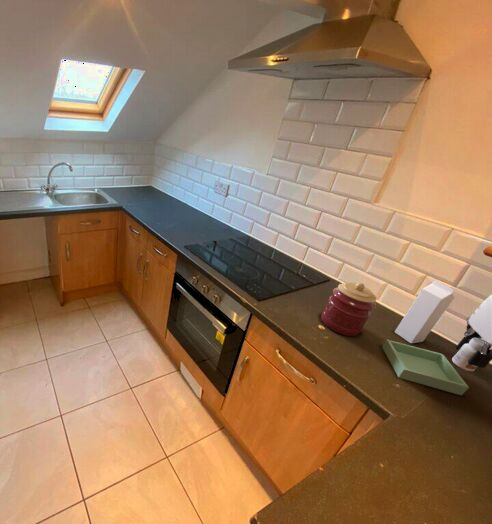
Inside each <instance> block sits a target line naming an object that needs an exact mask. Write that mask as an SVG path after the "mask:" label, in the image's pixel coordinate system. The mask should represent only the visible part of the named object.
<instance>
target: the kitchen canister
mask: <svg viewBox="0 0 492 524" xmlns="http://www.w3.org/2000/svg"><path fill="white" fill-rule="evenodd" d="M376 302H377V296H376V294H374V293H373V292H372V290H371V289H369V288H368V287H366V285H365V284H364V283H362V282H357V283H355V282H343V283H339V284H338V286H337V287H335V288H333V290H332V295H330V296H329V298H328V300H327V303H326V305H325V307H324V309H323V310H322V312H321V316H320V319H321V321H322V322H323V324H324V325H325V326H326V327H328V328H329V329H331V330H332V331H333V332H336V333H338V334H341V335H344V336H348V337H349V336H350V337H355V336H359V335H360V333H361V332H362V331H363V330H364V326H365V325H366V323H367V322H368V320H369V318H371V316H372V311H373V310H375V309H376V307H377V304H376Z"/></svg>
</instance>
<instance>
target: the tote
mask: <svg viewBox="0 0 492 524" xmlns="http://www.w3.org/2000/svg"><path fill="white" fill-rule="evenodd" d="M381 348H382V350H383V352H384V354H385V355H386V358H387V359H388V361H389V363H390V365H391V367H392V368H393V370H394V372H395V374H396V375H397V377H398V378H399V379H401V380H405V381H409V382H414V383H416V384H420V385H424V386H426V387H431V388H433V389H438V390H442V391H443V392H448V393H452V394H455V395H459V396H463V395H464V394H465V392H466V391H467V390H468V389H469V388H470V386H469V385H468V384H467V383H466V381H464V379H463V378H462V376H461V375H460V374H459V372H458V371H457V370H456V368H455V367H454V366H453V365H452V364H451V362H450V361H449V360H448V359H447V358H446V356H445V355H444V354H443V353H440V352H437V351H433V350H429V349H425V348H421V347H418V346H414V345H410V344H406V343H403V342H398V341H394V340H390V339H386V340H385V342H384V343H383V345H382V346H381Z"/></svg>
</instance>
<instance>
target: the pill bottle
mask: <svg viewBox="0 0 492 524" xmlns="http://www.w3.org/2000/svg"><path fill="white" fill-rule="evenodd" d="M484 343H485V340H484V339H483V338H481V339H479V338H472V339H471V340H470V342H469V344H468V343H467V344H464V345H463V346H462V347H461V349H460V350H457V352H456V353H455V354H454V356H453V357H452V358H451V361H452V363H453V364H454V365H455V366H457V367H458V368H460V369H462V370H465V371H468V372H474V371H476V369H478V368H479V367H478V366H474V365H470V364H469V363H468V361H469V359H470V358H471V357H472V356H473V355H474V354H475V352H476V351H481V349H482V347H483V345H484ZM491 348H492V346H491V347H490V349H491Z"/></svg>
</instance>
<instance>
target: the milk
mask: <svg viewBox="0 0 492 524" xmlns="http://www.w3.org/2000/svg"><path fill="white" fill-rule="evenodd" d="M454 292H455V288H452V287H450V286H448V285H446V284H443V283H442V282H439V281H438V280H436V279H435V280H433V281H432V282H431V283H430V284H428V285H426V286H424V287H422V288H421V290H420V291H419V293H418V295H417V296H416V298H415V299H414V300H413V303H412V304H411V306H410V307H409V309H408V310H407V312H406V313H405V314H404V316H403V318H402V320H401V321H400V322H399V324H398V325H397V327H396V328H395V330H394V333H395V334H396V335H398V336H399V337H401V338H402V339H404V340H405V341H407V343H410V344H416V343H422V342H424V341H425V339H426V338H427V337H428V335H429V334H430V333H431V331H432V330H433V328H434V327H435V326H436V325H437V323H438V321H439V320H440V319H441V317H442V316H443V314H445V312H446V310H448V308H449V306H450V305H451V304H452V302H453V301H454V300H455V296H454V294H453V293H454Z"/></svg>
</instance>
